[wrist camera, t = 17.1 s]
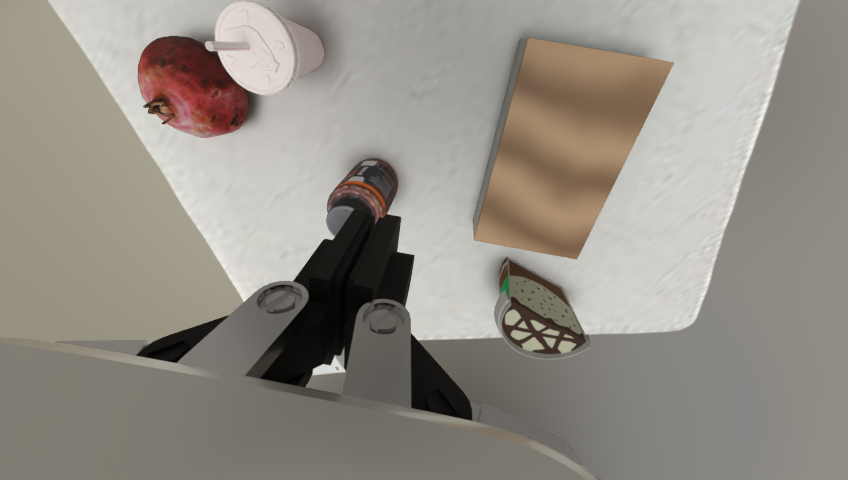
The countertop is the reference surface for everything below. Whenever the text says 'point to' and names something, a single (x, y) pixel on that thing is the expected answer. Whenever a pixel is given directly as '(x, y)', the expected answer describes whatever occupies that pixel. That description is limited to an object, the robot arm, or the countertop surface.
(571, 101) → the lid
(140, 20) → the countertop surface
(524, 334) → the food container
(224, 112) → the fruit
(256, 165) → the countertop surface
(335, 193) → the supplement bottle
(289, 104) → the countertop surface
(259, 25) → the smoothie
